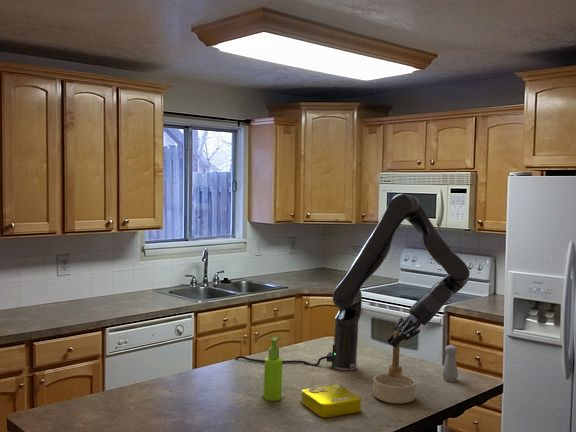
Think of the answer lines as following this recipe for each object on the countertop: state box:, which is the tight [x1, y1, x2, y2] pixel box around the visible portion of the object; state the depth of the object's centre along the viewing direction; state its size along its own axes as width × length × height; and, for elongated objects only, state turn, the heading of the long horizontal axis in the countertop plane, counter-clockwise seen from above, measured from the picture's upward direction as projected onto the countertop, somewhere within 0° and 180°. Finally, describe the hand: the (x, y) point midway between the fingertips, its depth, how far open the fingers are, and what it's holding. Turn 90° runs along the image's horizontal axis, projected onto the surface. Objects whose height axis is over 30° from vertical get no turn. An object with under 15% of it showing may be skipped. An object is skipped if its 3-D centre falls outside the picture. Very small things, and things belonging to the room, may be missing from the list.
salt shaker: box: [441, 344, 459, 383], centre depth 220 cm, size 6×6×13 cm
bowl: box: [372, 372, 417, 405], centre depth 200 cm, size 14×14×6 cm
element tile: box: [301, 383, 362, 419], centre depth 189 cm, size 15×15×5 cm
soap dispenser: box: [263, 336, 284, 402], centre depth 196 cm, size 6×7×20 cm
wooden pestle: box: [388, 331, 403, 378], centre depth 199 cm, size 4×4×15 cm
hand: (390, 344), depth 199 cm, fingers closed on wooden pestle, 2 cm apart
